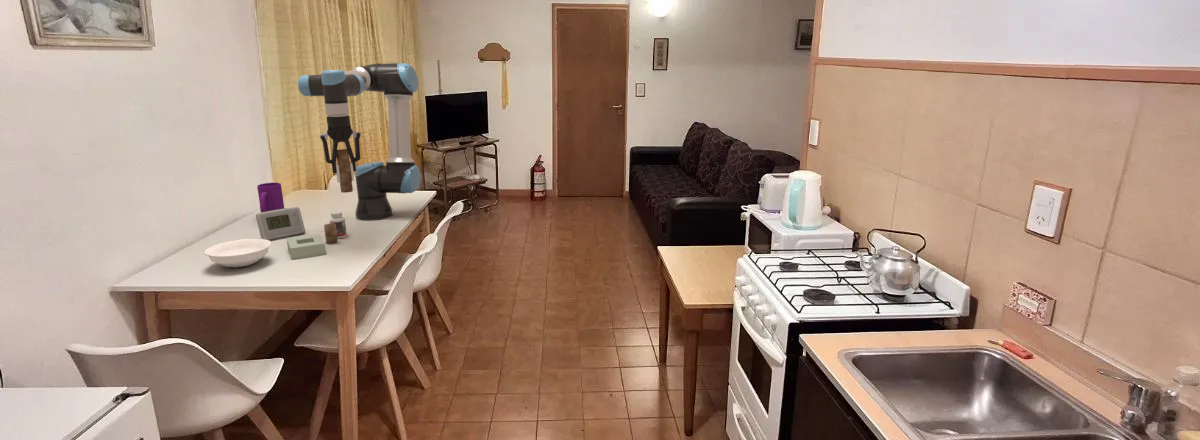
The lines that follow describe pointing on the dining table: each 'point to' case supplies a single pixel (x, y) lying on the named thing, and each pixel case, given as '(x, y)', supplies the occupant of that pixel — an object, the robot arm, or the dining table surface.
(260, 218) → the digital clock
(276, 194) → the mug
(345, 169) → the long dowel
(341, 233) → the pill bottle
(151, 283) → the dining table surface
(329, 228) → the short dowel
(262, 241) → the bowl
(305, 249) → the hole board
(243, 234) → the dining table surface
